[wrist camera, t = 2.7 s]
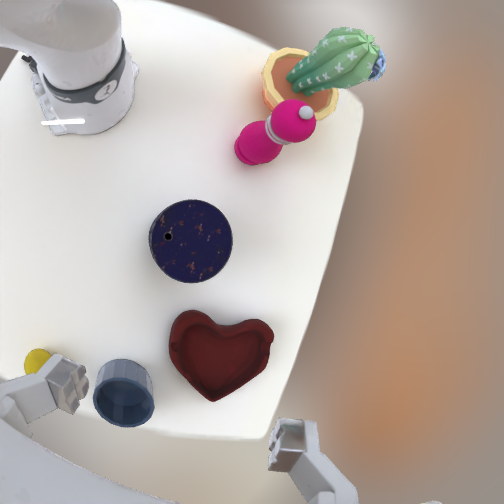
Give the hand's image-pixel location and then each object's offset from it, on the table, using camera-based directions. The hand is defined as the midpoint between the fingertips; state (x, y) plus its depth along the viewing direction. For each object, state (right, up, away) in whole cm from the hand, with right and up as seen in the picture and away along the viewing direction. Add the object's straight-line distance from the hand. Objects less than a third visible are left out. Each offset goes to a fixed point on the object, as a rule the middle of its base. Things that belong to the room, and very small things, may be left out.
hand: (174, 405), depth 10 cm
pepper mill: (+3, +24, +40) cm, 47 cm away
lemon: (-34, -12, +29) cm, 46 cm away
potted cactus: (+9, +36, +42) cm, 56 cm away
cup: (-20, -18, +35) cm, 44 cm away
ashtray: (-4, -12, +41) cm, 43 cm away
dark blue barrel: (-9, +8, +37) cm, 39 cm away
